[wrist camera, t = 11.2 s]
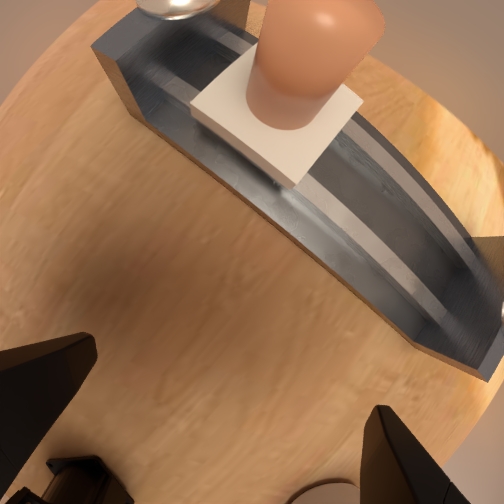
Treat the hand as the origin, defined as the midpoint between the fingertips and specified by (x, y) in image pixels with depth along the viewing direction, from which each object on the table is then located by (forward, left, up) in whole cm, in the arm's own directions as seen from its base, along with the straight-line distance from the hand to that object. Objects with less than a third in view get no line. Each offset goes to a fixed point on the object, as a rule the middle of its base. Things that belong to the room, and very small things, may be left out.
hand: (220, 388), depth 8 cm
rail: (+10, +5, -11) cm, 16 cm away
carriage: (+7, +10, -8) cm, 15 cm away
